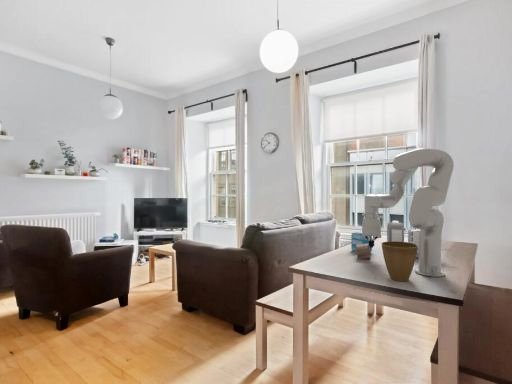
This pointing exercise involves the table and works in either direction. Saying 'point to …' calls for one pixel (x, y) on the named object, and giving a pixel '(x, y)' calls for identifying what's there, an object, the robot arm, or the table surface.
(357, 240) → the data package
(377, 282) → the table surface
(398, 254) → the plant pot
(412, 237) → the candy box
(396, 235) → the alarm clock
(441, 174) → the robot arm
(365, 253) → the beige cube
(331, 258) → the table surface
